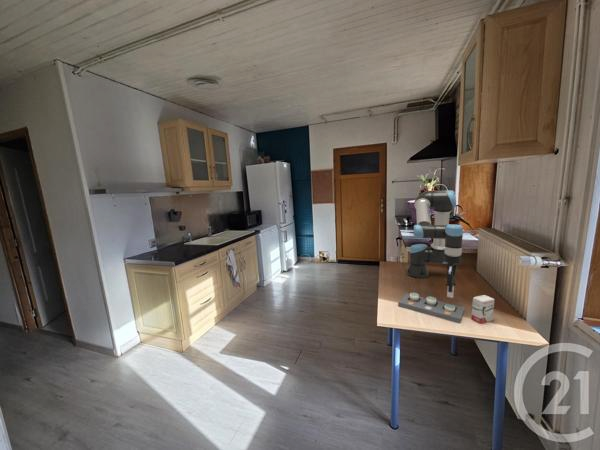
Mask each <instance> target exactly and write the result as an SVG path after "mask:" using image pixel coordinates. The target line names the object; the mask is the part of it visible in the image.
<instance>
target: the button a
mask: <svg viewBox="0 0 600 450" xmlns="http://www.w3.org/2000/svg"><path fill="white" fill-rule="evenodd" d="M409 294H410V301H414V302H417V301H419V297H420V294H419V293H418V292H410V293H409Z"/></svg>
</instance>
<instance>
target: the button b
mask: <svg viewBox="0 0 600 450" xmlns="http://www.w3.org/2000/svg"><path fill="white" fill-rule="evenodd" d="M426 298H427V300H426V303H427V304H426V305H430V306H434V307H436V306H435V305H436V301H437V298H436V297H434V296H430V295H429V296H426Z"/></svg>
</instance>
